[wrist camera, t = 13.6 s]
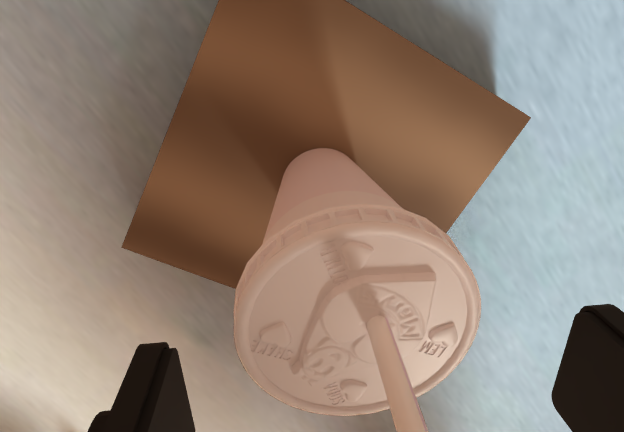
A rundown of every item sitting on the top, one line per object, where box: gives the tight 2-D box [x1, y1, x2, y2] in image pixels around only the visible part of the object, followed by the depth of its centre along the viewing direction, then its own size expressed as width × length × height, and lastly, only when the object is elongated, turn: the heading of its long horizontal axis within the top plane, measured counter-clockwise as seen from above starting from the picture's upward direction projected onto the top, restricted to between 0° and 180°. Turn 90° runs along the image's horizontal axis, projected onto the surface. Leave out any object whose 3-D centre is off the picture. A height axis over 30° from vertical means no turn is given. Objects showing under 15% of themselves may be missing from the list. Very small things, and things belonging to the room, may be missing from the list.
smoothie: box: [234, 148, 481, 432], centre depth 13 cm, size 6×6×14 cm
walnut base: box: [122, 0, 531, 289], centre depth 20 cm, size 14×14×3 cm
